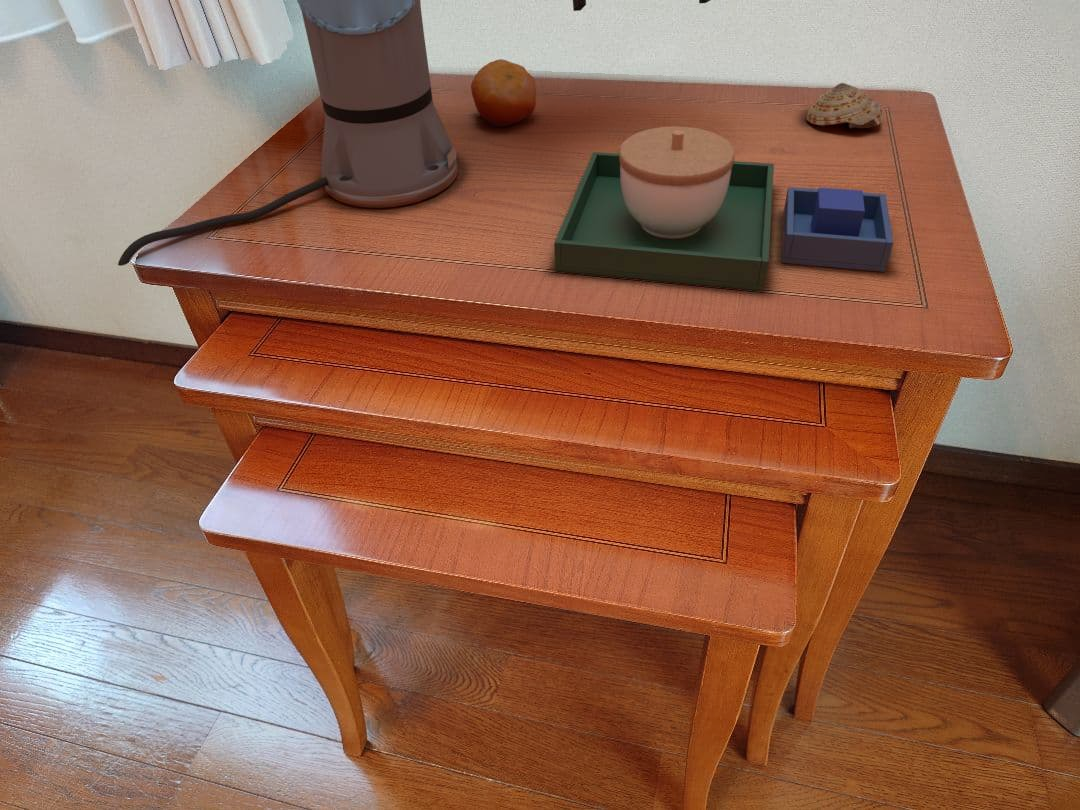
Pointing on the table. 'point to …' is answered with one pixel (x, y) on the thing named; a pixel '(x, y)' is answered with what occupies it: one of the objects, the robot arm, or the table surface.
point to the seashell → (845, 108)
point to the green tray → (703, 258)
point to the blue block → (838, 212)
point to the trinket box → (675, 178)
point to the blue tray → (836, 249)
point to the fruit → (503, 93)
